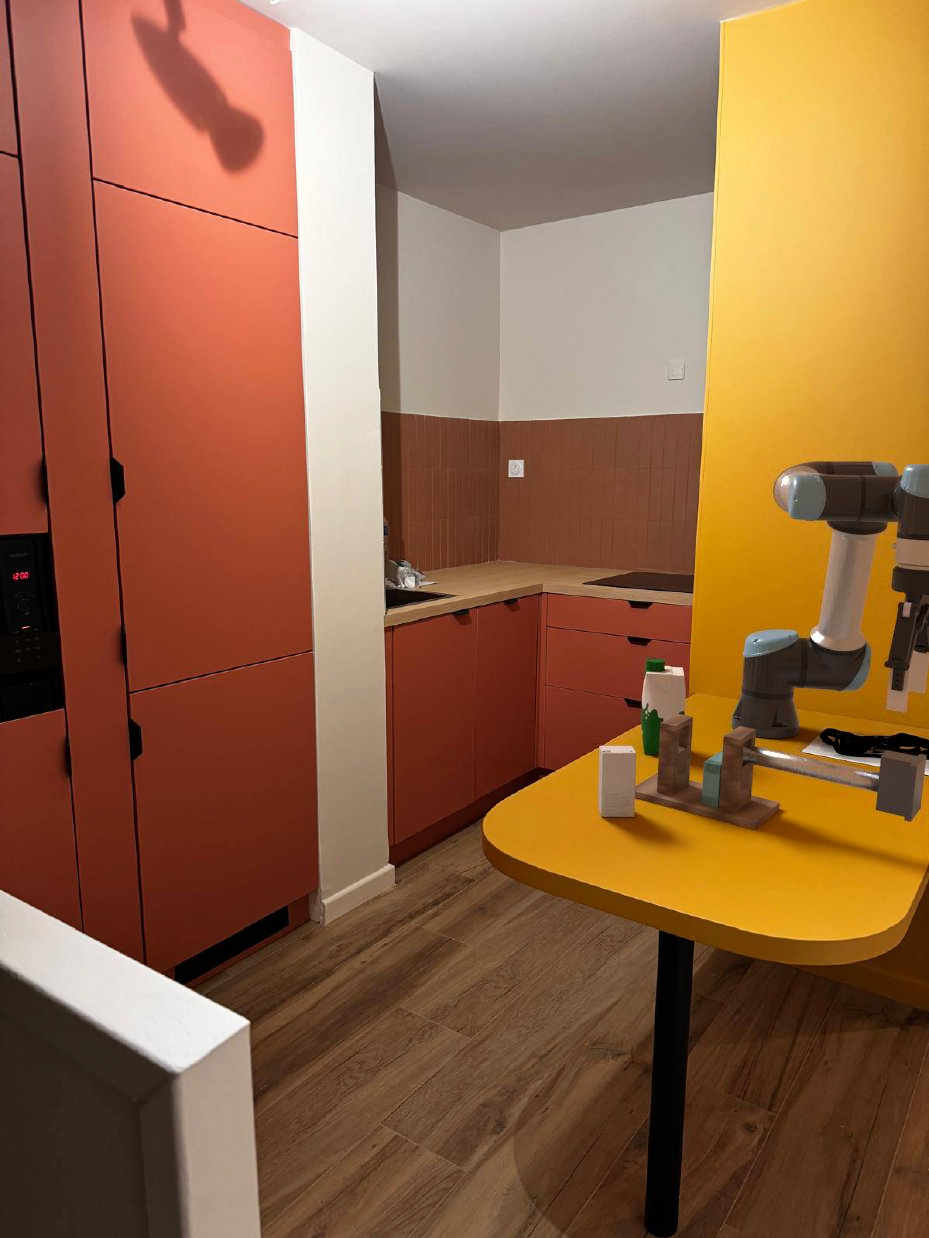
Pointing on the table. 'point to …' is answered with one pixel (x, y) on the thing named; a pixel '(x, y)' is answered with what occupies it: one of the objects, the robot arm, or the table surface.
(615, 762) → the skincare box
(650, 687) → the milk carton
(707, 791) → the spacer ring
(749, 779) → the bearing stand
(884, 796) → the shaft
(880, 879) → the table surface
